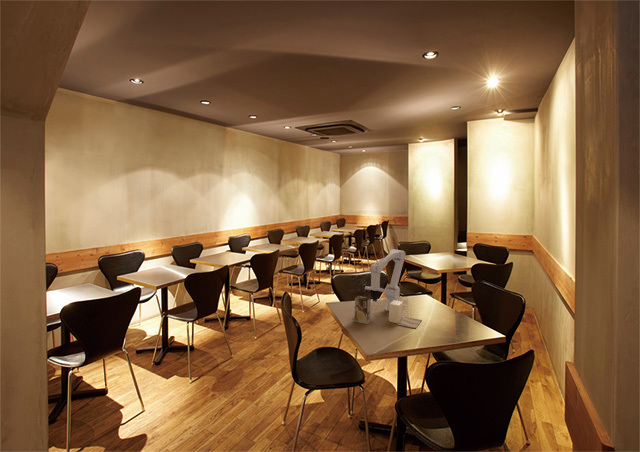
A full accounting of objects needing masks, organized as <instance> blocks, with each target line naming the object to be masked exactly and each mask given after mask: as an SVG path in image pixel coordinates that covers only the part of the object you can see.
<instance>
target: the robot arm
mask: <svg viewBox="0 0 640 452" xmlns="http://www.w3.org/2000/svg"><path fill="white" fill-rule="evenodd" d="M406 255H407V254H406V251H404V250H400V249H394V248H391V250H389V253H388V254H387V255H386V256H385V257H383V258H380V259H379V260H378V261H377V262H375V263H372V264H371V265H370V266H369V272H370V276H371V278H370V281H371V283H370V286H366V285H365V287H364V290H368V291H369V293H370V296H371V298H372V299H371V300H372V302H377V301H378V298H379V295H380V293H384V296H385V298H386V308H385V309H384V311H387V312H389V304H390V303H391V302H392V301H393V300H396V301H399V297H400V294H401V293H400V292H401V289H400V287H399V286H398V285H399V281H400V277H401V272H402V269H403V266H404V263H405V260H406ZM390 261H393V262H394V267H393V268H394V269H393V272H392V276H391V279H390V283H389V284H388V285H386V288H383V287H380V285H381V283H380V282H381V279H380V278H381V273H382V271H383V270H384V268H385V267H386V266H387V265H388V263H389V262H390Z"/></svg>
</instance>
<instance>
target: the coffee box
mask: <svg viewBox="0 0 640 452" xmlns="http://www.w3.org/2000/svg"><path fill="white" fill-rule="evenodd" d="M371 298H372V297H369V296H368V297H367V296H362V295H357V296H355V298H354V322H355V323H358V324H359V323H361V324H363V325H364V324H365V325H368V324H369V323H370V322H371V300H372V299H371Z"/></svg>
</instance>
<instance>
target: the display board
mask: <svg viewBox="0 0 640 452" xmlns="http://www.w3.org/2000/svg"><path fill="white" fill-rule="evenodd" d="M422 322H423V320H422V319H419V318H414V317H409V316H403V319H402V320H401V321H400V322H399V323H397V326H399V327H405V328H409V329H414V330H416V329H417V328H418V327H419V326H420V324H421V323H422Z"/></svg>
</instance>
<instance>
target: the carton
mask: <svg viewBox="0 0 640 452" xmlns="http://www.w3.org/2000/svg"><path fill="white" fill-rule="evenodd" d="M403 314H404V301H400V300H398V301H396V300H393V301H392V302H391V303H390V304H389V311H388V322H390V323H394V324H398V323H399V322H400V321H401V320H402V319H403V318H404V316H403Z"/></svg>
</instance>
